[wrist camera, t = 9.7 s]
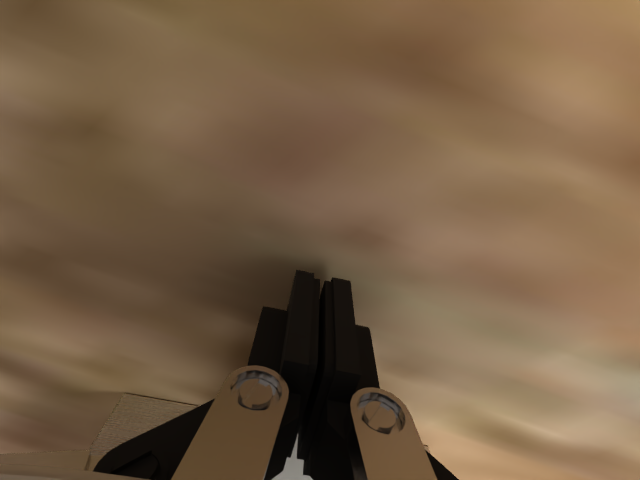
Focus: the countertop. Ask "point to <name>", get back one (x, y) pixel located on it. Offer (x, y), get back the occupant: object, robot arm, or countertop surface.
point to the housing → (137, 420)
